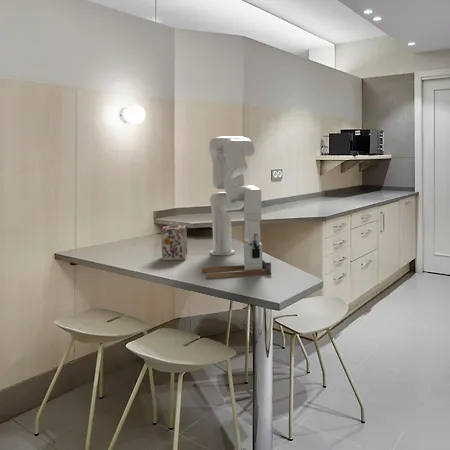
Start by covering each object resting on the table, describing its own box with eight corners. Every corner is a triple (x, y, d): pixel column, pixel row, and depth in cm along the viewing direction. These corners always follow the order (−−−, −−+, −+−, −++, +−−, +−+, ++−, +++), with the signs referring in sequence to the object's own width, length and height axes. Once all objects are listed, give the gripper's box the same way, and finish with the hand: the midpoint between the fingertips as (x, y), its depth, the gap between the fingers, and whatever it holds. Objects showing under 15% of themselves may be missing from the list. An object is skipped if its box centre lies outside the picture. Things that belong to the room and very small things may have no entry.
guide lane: (201, 271, 220) (201, 260, 219) (262, 267, 225) (262, 256, 225) (206, 278, 208) (206, 267, 207) (270, 273, 214) (270, 262, 213)
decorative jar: (185, 260, 243) (184, 224, 240) (161, 261, 243) (160, 224, 240) (187, 255, 254) (186, 220, 252) (165, 255, 255) (163, 221, 252)
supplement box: (260, 269, 222) (260, 241, 220) (262, 273, 215) (262, 244, 213) (244, 269, 222) (243, 241, 220) (245, 273, 214) (245, 245, 213)
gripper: (239, 214, 222) (239, 251, 225) (249, 220, 206) (249, 260, 209) (255, 213, 224) (255, 250, 227) (267, 219, 207) (266, 259, 210)
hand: (252, 255), depth 218 cm, fingers open, 9 cm apart
